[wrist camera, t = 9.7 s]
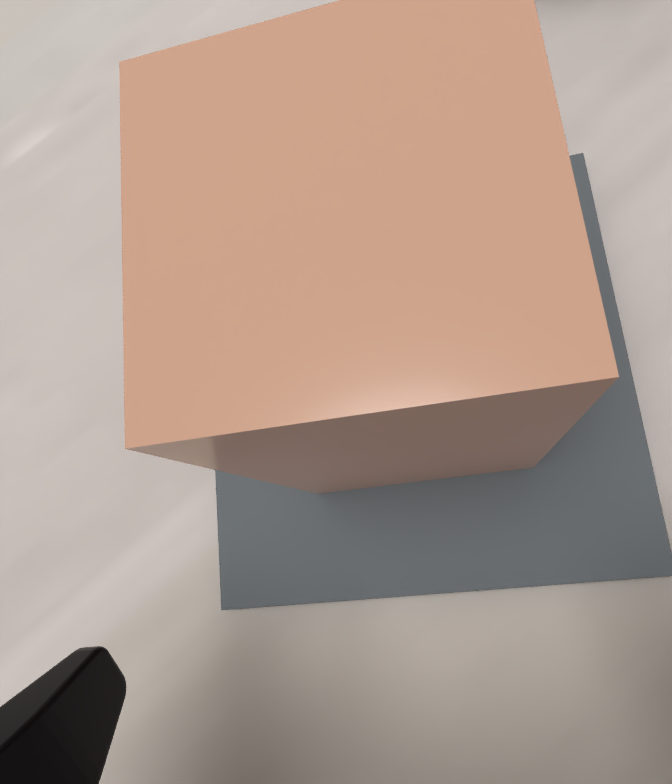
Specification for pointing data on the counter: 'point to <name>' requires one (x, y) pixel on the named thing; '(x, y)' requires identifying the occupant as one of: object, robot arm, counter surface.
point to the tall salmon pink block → (355, 248)
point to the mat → (462, 511)
